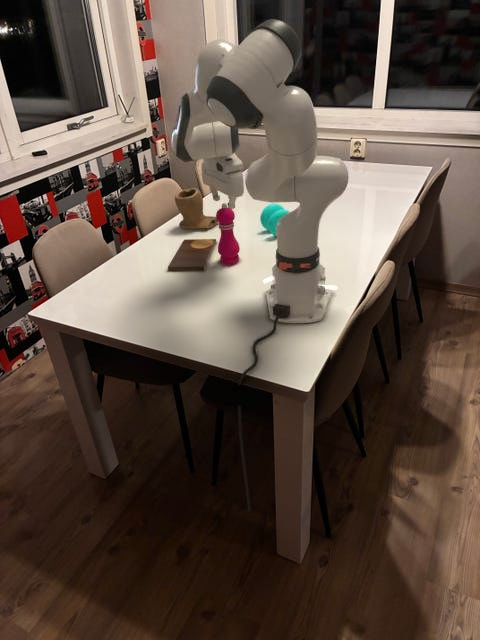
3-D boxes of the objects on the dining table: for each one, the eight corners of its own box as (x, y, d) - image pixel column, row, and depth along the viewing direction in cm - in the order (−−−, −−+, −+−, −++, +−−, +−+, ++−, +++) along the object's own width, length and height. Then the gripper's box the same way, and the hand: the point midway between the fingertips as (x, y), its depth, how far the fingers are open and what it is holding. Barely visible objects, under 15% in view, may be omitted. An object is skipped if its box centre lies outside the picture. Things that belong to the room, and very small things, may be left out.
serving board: (203, 270, 160) (203, 265, 159) (168, 270, 162) (167, 266, 161) (216, 242, 178) (216, 238, 177) (184, 243, 180) (184, 238, 179)
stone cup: (173, 231, 190) (167, 194, 182) (186, 220, 199) (181, 184, 191) (209, 234, 185) (204, 195, 177) (221, 222, 194) (217, 185, 186)
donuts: (284, 225, 186) (283, 200, 180) (296, 234, 178) (295, 208, 172) (259, 231, 183) (258, 205, 178) (270, 240, 175) (269, 214, 170)
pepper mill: (215, 259, 166) (209, 202, 155) (235, 254, 168) (229, 197, 157) (224, 267, 160) (217, 209, 149) (244, 262, 162) (239, 204, 152)
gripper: (194, 155, 152) (199, 198, 160) (227, 169, 137) (231, 215, 145) (211, 151, 155) (216, 193, 162) (246, 164, 140) (249, 210, 147)
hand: (224, 204), depth 154 cm, fingers open, 8 cm apart
